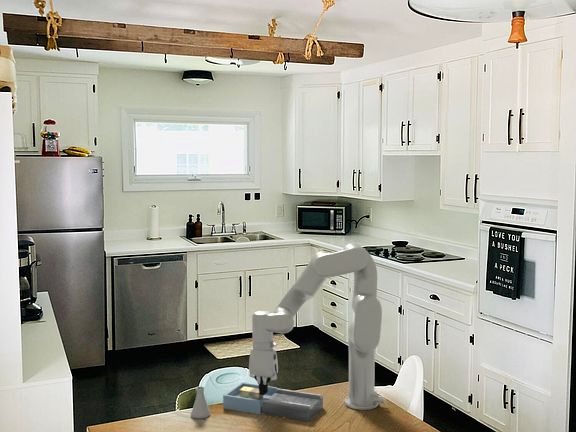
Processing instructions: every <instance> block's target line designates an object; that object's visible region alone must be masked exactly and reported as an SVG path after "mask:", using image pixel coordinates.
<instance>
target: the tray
mask: <svg viewBox="0 0 576 432" xmlns="http://www.w3.org/2000/svg"><path fill="white" fill-rule="evenodd" d="M244 386H245V387H252V388H257V389H259V384H256V383H249V382H248V383H247V382H240V383H239V384H238V385H236V386H234V387H233V388H232V389H230V390H229V391H227V392H226V393H225V394H223V396H222V398H223V399H222V401H223V405H222V406H223V409H224V410H230V411H237V412H242V413H248V412H250V414H254V413H255V415H261V413H262V403H263V399H264V398H267V399H268V398H269V397H271V396H272V395H273V394H274V393H276V389H277V388H278V387H276V386H269V385H268V392H267V393H266V394H265V395H263V398H261V399H260V400H255V399H249V398H243V397H239V390H240V389H241V388H243V387H244Z"/></svg>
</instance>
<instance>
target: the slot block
mask: <svg viewBox="0 0 576 432" xmlns="http://www.w3.org/2000/svg"><path fill="white" fill-rule="evenodd" d="M323 408H324V397H323V394H319V393H312V392H304V391H298V390H291V389H283V388H278V387H277V389H276V393H274V394H273V395H272V396H271V397H269V398H268V399H267V398H264V399H263V403H262V415H263V414H265V416H269V415H271V416H270V417H275V416H278V417H277V418H281V417H285V418H284V419H287V418H289V420H293V419H294V421H299V422H307V423H309V422H311V421H312V419H314V417H316V416H317V415H318V413H319V412H320V411H321V410H323Z"/></svg>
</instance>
